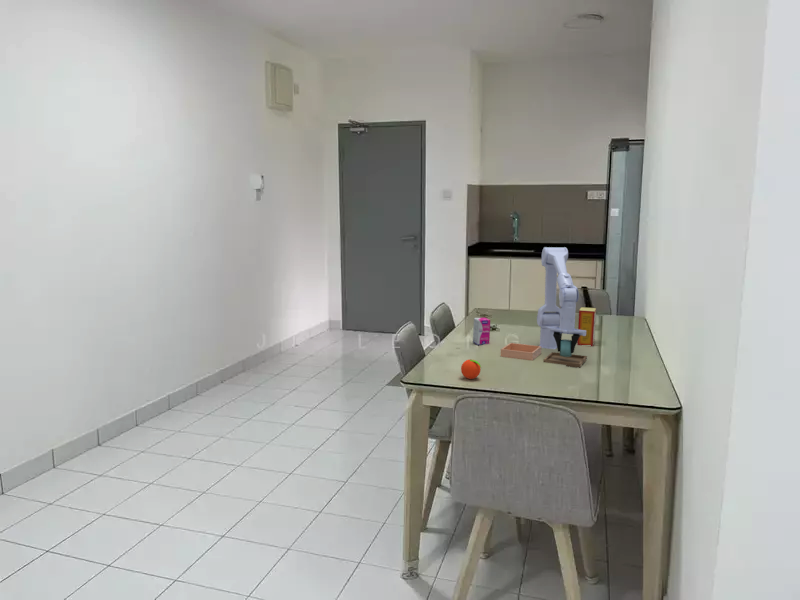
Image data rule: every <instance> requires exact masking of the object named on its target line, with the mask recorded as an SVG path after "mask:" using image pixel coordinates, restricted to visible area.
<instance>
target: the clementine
mask: <svg viewBox="0 0 800 600" xmlns="http://www.w3.org/2000/svg"><path fill="white" fill-rule="evenodd" d="M481 370H482V366H481V364H480V362H478V361H477V360H475V359H466V360H465V361H464V362H463V363H462V364H461V367H460V371H461V374H462V376H463V377H464V378H465V379H468V380H473V379H476V378H478V376H479V375H480V374H481Z"/></svg>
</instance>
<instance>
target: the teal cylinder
mask: <svg viewBox="0 0 800 600" xmlns="http://www.w3.org/2000/svg"><path fill="white" fill-rule="evenodd" d="M571 346H572V339H561V341H560V352H559V353H560V356H563V357H571V356H572V354H573V353H571Z"/></svg>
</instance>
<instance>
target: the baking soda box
mask: <svg viewBox="0 0 800 600" xmlns="http://www.w3.org/2000/svg"><path fill="white" fill-rule="evenodd" d="M596 314H597V308H596V307H583V306H581V307H580V308H579V309H578V324H577V326H578V327H577V329H580V330H586V336H582V335H580V337H579V339H578V341H577V343H576V345H577V346H582V345H591V346H590V347H593V346H594V344H595V335H596V334H595V333H596V316H597V315H596ZM593 343H594V344H593Z"/></svg>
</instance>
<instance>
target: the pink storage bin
mask: <svg viewBox="0 0 800 600" xmlns="http://www.w3.org/2000/svg"><path fill="white" fill-rule="evenodd" d="M541 354H542V348H541V346H539V345H532V344H524V343H516V342H510V343H508V344H506V345H504V347H502V348H500V357H503V358H508V359H509V358H511V359H517V360H525V361H534V360H535V359H536V358H537V357H539V356H540V355H541Z"/></svg>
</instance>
